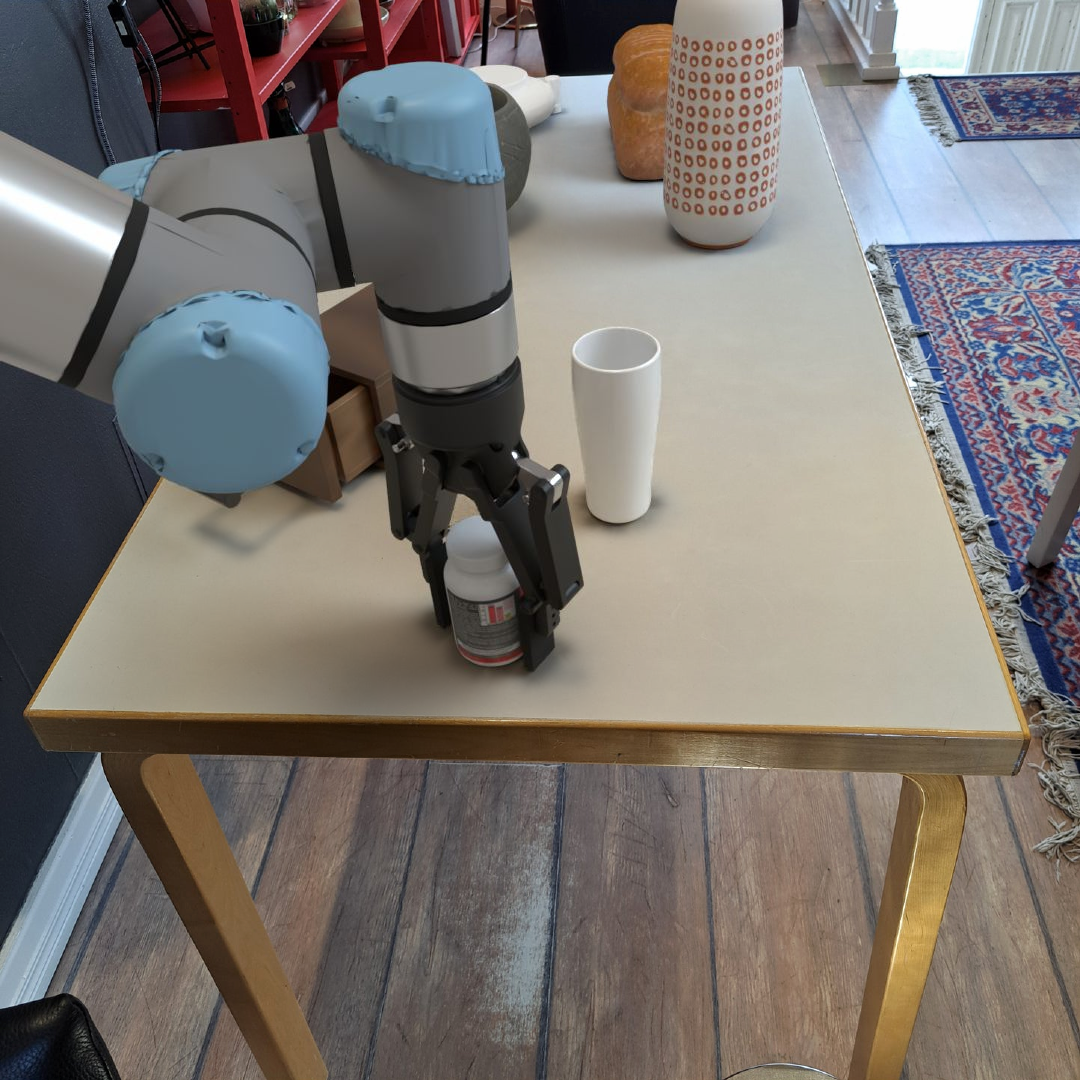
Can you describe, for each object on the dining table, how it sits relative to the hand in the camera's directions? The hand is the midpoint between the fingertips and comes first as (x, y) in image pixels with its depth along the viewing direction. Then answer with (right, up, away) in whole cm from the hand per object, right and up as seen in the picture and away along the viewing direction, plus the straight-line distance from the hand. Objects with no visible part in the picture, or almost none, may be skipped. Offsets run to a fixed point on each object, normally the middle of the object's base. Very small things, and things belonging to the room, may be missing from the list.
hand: (495, 635), depth 71 cm
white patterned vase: (+25, +44, +49) cm, 71 cm away
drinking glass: (+10, +10, +11) cm, 18 cm away
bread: (+20, +64, +73) cm, 99 cm away
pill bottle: (0, -1, 0) cm, 1 cm away
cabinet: (-11, +19, +24) cm, 32 cm away
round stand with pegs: (-4, +74, +86) cm, 114 cm away
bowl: (-8, +49, +58) cm, 76 cm away
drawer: (-17, +13, +16) cm, 27 cm away
